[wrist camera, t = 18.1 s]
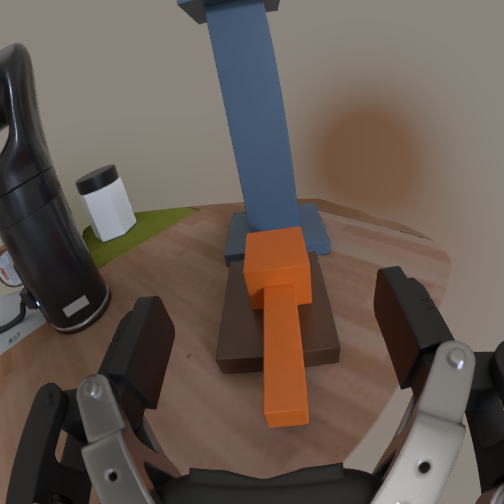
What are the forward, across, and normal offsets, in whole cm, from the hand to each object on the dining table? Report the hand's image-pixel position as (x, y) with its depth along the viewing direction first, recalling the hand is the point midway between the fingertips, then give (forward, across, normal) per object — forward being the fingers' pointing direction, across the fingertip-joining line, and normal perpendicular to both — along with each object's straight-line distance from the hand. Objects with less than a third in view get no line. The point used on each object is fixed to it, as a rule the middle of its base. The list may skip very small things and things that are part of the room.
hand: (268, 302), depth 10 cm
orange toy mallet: (+7, 0, +10) cm, 12 cm away
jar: (+36, +30, +12) cm, 48 cm away
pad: (+11, +1, +12) cm, 16 cm away
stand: (+25, 0, +12) cm, 27 cm away
